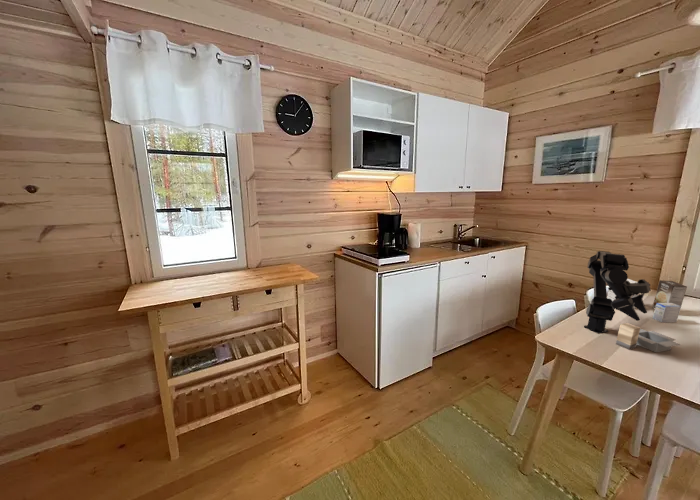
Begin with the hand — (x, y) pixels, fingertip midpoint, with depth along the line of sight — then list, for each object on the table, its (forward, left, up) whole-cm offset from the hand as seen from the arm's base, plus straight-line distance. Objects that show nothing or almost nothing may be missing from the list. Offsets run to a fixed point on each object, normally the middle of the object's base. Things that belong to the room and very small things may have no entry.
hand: (642, 316), depth 117 cm
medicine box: (+44, +15, -14) cm, 49 cm away
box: (-3, +1, -13) cm, 14 cm away
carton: (+7, -1, -13) cm, 15 cm away
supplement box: (+43, +34, -14) cm, 57 cm away
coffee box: (+59, +23, -14) cm, 65 cm away
